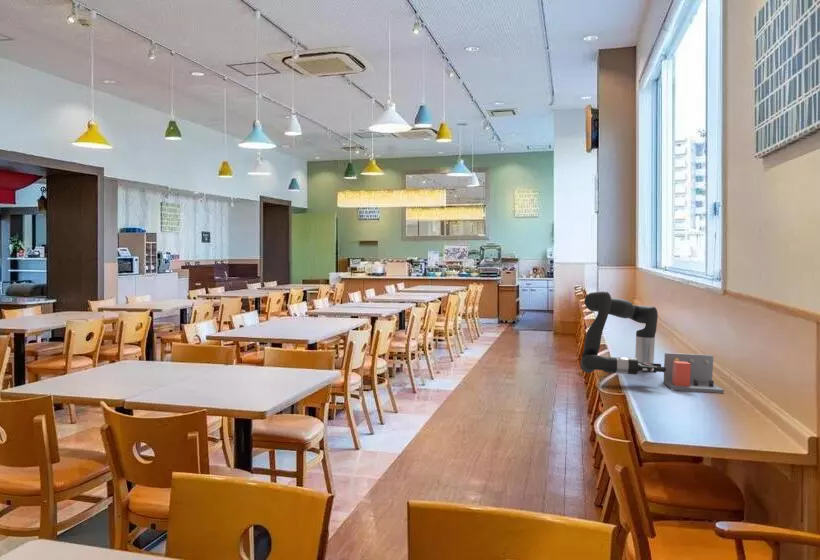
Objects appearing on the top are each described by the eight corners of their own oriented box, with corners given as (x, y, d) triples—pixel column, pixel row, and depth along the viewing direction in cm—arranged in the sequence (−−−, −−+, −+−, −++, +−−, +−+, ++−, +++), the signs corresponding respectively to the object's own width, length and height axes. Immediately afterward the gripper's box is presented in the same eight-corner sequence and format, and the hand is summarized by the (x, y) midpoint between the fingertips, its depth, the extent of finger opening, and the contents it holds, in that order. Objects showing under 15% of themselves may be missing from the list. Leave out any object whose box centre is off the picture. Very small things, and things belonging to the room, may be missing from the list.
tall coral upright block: (672, 382, 287) (673, 360, 286) (685, 383, 286) (686, 361, 285) (675, 385, 281) (676, 363, 280) (689, 386, 280) (690, 363, 279)
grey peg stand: (663, 382, 294) (664, 352, 294) (710, 385, 291) (712, 355, 291) (672, 390, 277) (674, 358, 277) (723, 393, 274) (725, 361, 274)
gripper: (629, 360, 279) (667, 362, 277) (623, 355, 293) (659, 357, 291) (628, 376, 280) (666, 379, 277) (622, 371, 294) (659, 373, 291)
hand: (663, 367), depth 284 cm, fingers open, 8 cm apart
